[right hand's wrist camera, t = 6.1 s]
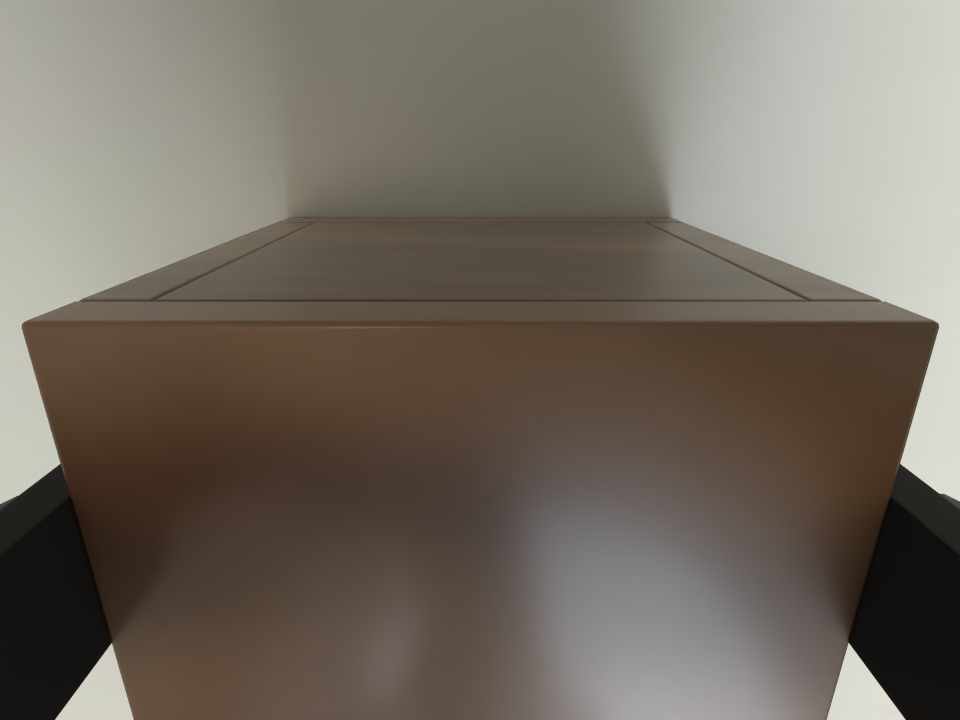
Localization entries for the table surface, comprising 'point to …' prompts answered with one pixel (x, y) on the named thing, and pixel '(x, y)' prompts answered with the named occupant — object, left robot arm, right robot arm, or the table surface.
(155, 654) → the cabinet
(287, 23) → the table surface
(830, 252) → the table surface
